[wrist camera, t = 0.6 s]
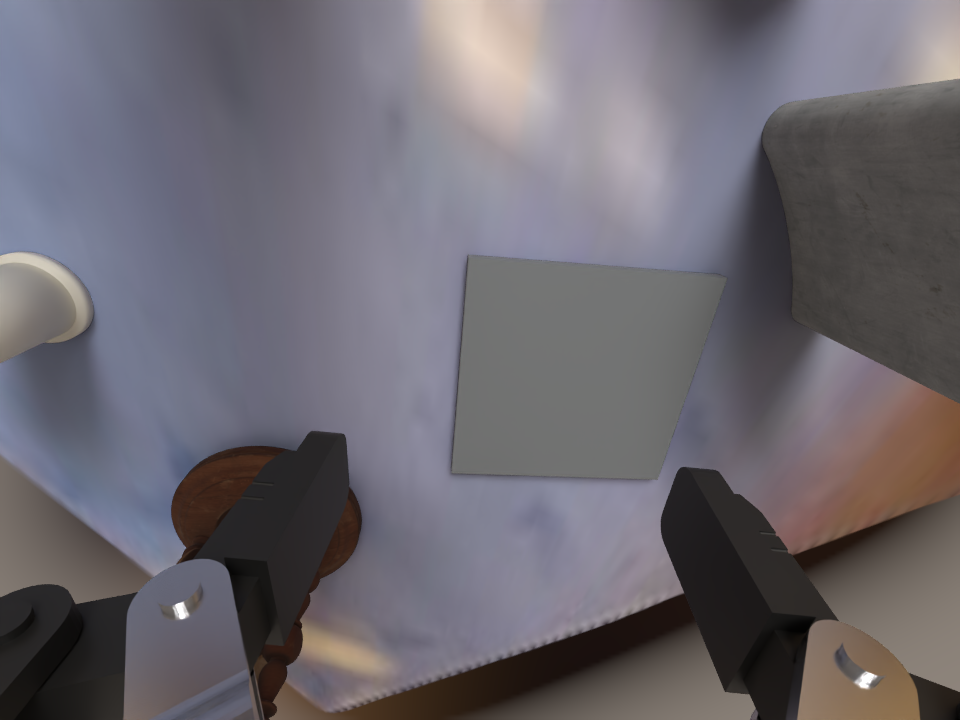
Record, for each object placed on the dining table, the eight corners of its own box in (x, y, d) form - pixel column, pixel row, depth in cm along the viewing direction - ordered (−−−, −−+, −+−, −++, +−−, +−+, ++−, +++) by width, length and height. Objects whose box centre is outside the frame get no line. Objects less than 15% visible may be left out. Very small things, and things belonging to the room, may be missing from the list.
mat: (468, 254, 29) (468, 258, 28) (719, 274, 31) (727, 278, 30) (451, 465, 37) (451, 473, 36) (652, 472, 39) (657, 479, 38)
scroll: (223, 569, 41) (43, 898, 23) (159, 443, 34) (-161, 767, 16) (378, 553, 41) (321, 866, 23) (345, 425, 35) (229, 724, 17)
